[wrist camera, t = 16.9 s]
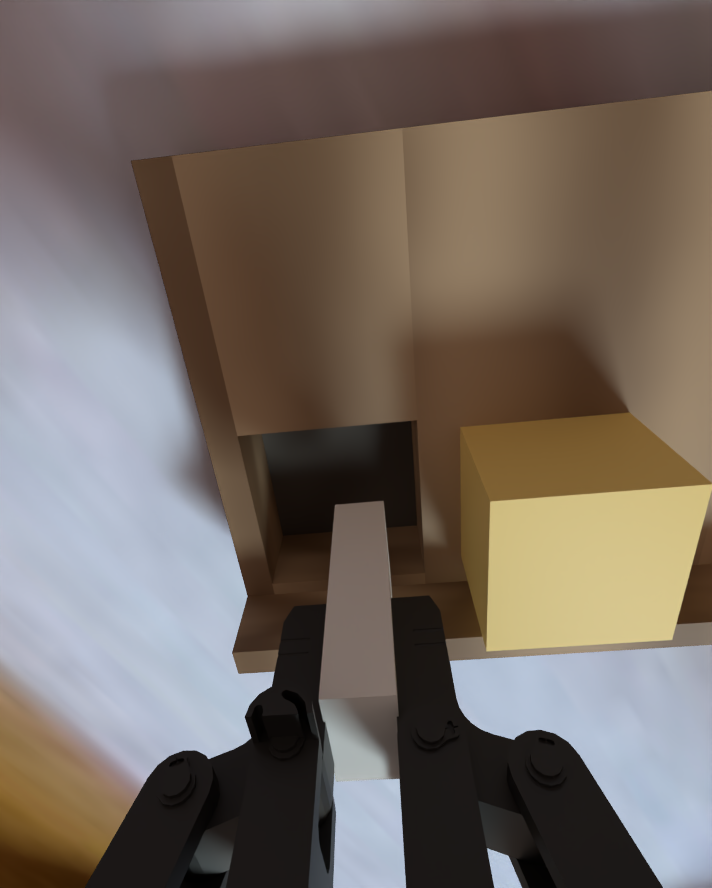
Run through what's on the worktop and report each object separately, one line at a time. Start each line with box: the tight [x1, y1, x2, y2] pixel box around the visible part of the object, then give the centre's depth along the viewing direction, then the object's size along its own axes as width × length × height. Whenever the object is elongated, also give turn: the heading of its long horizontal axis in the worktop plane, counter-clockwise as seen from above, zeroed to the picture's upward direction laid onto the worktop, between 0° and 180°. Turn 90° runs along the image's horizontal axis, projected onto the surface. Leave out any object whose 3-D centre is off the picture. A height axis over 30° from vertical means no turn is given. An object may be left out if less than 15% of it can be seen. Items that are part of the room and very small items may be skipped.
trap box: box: [131, 91, 712, 674], centre depth 15 cm, size 28×15×6 cm, turn 96°
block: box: [460, 413, 712, 651], centre depth 14 cm, size 5×5×4 cm
